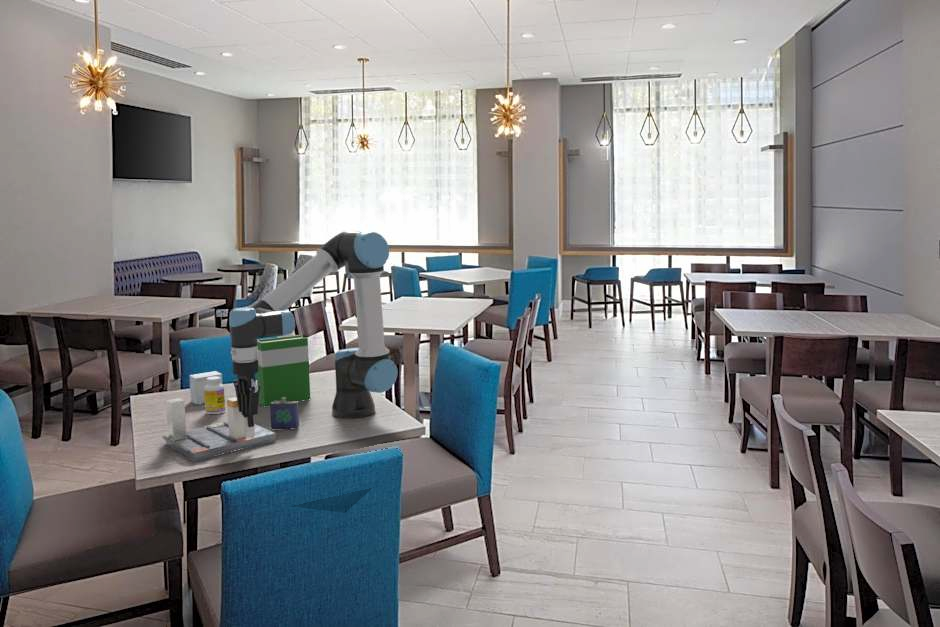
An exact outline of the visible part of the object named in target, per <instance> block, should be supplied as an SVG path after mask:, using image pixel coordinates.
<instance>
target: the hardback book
mask: <svg viewBox="0 0 940 627" xmlns="http://www.w3.org/2000/svg"><path fill="white" fill-rule="evenodd" d="M308 339H309V338H308V337H305V336H304V337H302V334H296V335H288V336H287V335H285V336H277V337H268V338H259V339H257V344H258V358H257V360H258V363H259V371H258V372H257V373H256V382H257V383H256V385H257V386H258V385H260V387H261V388H260V392H259V403H260V404H259V403H258V404H259V405H261V406H262V405H263V407H264V406H265V407H264V408H267V407H266V406H270V403H271V402H275V401H277V402H278V401H281V400H282V399H281V398H282V397H286V399H285V400H286V402H292V401H300V402H303V401H302V400H306V401H310V400H311V383H310V382H311V381H310V362H309V361H310V360H309V340H308ZM309 399H310V400H309Z"/></svg>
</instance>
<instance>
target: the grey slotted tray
mask: <svg viewBox="0 0 940 627" xmlns="http://www.w3.org/2000/svg"><path fill="white" fill-rule="evenodd" d="M165 406H166V417H167V418H166V419H167V432H168V433H167V434H164V435H162V439H163V440H164V442H165V445H167V446H168V447H170V448H172V449H174V450H175V451H177V452H178V453H180V454H182V455H183V456H185V457H187V458H189V459H190V460H192V461H194V462H198V461H201V460H200V459H202V460H204V458H206V459H209V458H208V457H210V458H213V457H212V456H214V457H216V456H215V455H218V456H220V455H219V454H222V453H226V454H228V453H227V452H230V453H232V452H231V451H234V450H238V449H241V448H245V449H247V448H246V447H249V448H251V447H250V446H253V447H256V446H255V445H257V446H260V445H259V444H261V445H264V444H263V443H265V444H269V443H272V442H271V441H273V442H276V441H277V439H276V438H277V436H276V435H277V434H276V432H274V431H271V430H269V429H267V428H264V427H262V426H261V425H258V424H256V423H254V427H255V436H253V437H249V438H245V437H243V438H239V439H234V438H232V437H230V436H229V424H228V421H227V422H225V421H224V422H223V423H222V422H218V423H212V424H210V425H206V426H204V427H201V428H196V429H192V430H187V421H186V406H185V399H182V398H180V397H176V398H171V399H167V400H165ZM275 440H276V441H275ZM268 442H269V443H268ZM238 451H239V450H238ZM234 452H235V451H234ZM222 455H223V454H222ZM197 460H198V461H197Z"/></svg>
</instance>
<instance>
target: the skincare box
mask: <svg viewBox="0 0 940 627" xmlns="http://www.w3.org/2000/svg"><path fill="white" fill-rule="evenodd" d="M214 376H217V377H220V378H221V381H220V384H222V385H223V374H222V373H220V372H219V371H217V370H213V371H209V372H207V371H206V372H202V373H201V372H200V373H194V374H189V376H188V377H189V391H190V392H189V393H190V402H191V403H193V404H194V403H195V405H196V404H199V405H201V404H200V403H204V404H205V392H204V388H205V386H206V385H207V384H208V383H207V378H208V377H214ZM223 386H224V385H223Z"/></svg>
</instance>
